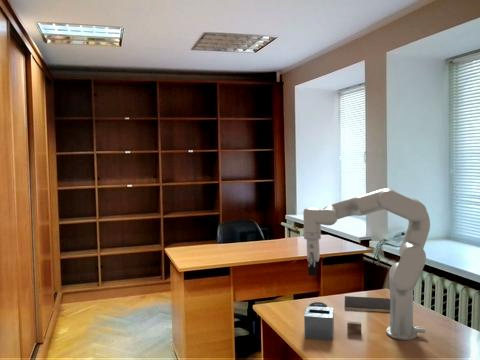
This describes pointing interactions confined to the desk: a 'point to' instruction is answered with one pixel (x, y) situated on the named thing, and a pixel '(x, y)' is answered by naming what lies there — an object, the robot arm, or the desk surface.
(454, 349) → the desk surface
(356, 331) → the block
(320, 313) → the slot box
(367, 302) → the hardcover book
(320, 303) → the electronic device
